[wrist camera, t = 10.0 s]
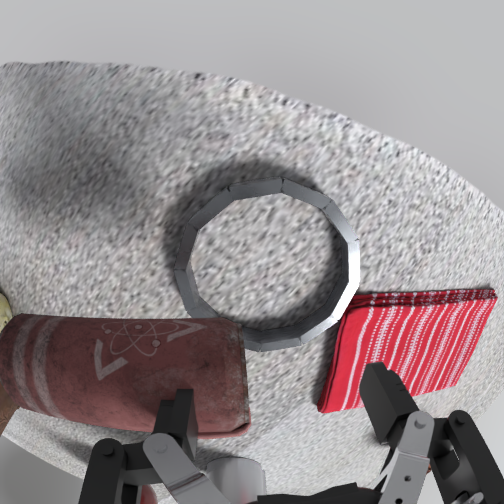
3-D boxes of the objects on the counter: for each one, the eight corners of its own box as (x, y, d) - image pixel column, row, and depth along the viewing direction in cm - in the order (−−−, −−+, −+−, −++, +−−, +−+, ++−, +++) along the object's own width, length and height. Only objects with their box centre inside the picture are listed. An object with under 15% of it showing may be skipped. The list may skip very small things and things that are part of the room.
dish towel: (339, 289, 26) (347, 303, 24) (492, 284, 27) (504, 293, 25) (311, 405, 32) (314, 421, 30) (449, 380, 33) (457, 391, 31)
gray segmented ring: (378, 274, 25) (387, 284, 23) (255, 360, 28) (256, 373, 26) (283, 140, 21) (287, 140, 19) (147, 257, 24) (140, 266, 22)
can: (-12, 403, 8) (257, 441, 9) (2, 296, 11) (243, 297, 13) (45, 415, 13) (248, 432, 14) (51, 331, 16) (240, 335, 18)
